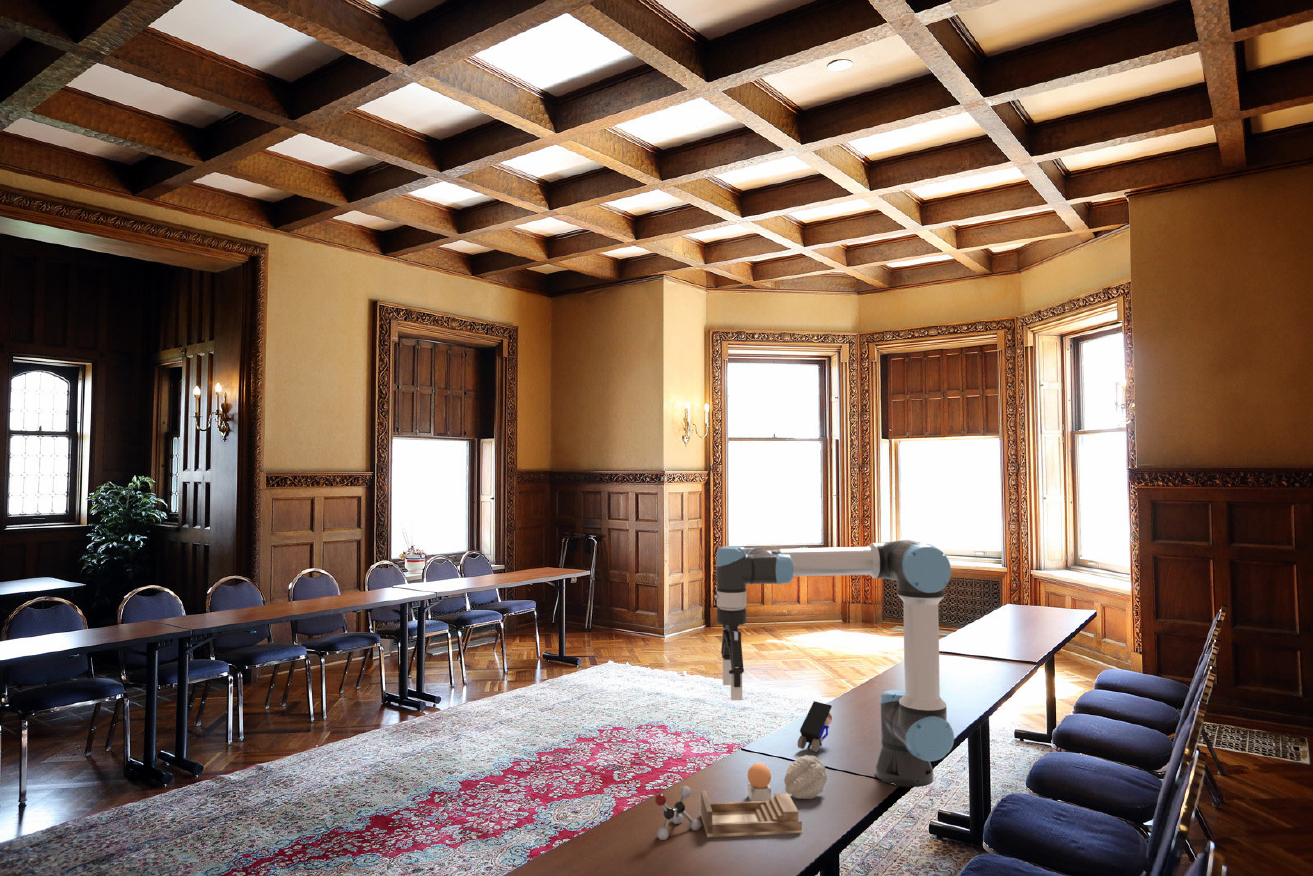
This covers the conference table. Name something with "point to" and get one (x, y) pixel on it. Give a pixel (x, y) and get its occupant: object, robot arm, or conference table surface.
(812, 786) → the fossil replica
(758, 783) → the ball
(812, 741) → the figurine character
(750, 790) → the white open box
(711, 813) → the wooden stepped tray
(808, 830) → the conference table surface
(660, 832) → the molecular model
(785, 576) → the robot arm
